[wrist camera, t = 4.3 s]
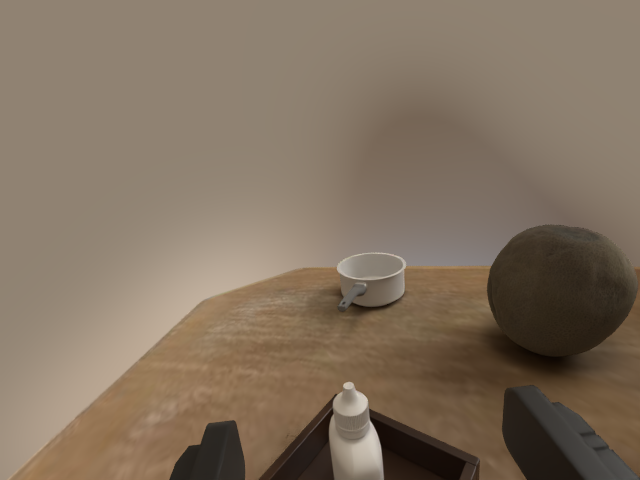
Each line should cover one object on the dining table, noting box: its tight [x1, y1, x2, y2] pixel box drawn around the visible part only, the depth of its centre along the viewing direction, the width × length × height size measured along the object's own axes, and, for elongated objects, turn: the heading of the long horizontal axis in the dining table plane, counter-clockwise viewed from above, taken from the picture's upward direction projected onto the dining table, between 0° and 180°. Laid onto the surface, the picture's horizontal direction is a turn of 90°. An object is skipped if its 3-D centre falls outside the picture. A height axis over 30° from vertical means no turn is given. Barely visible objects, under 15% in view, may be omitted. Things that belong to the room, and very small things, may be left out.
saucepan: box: [337, 253, 406, 312], centre depth 57 cm, size 12×20×6 cm, turn 156°
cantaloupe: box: [487, 225, 638, 357], centre depth 42 cm, size 14×14×15 cm
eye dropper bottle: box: [329, 382, 384, 480], centre depth 26 cm, size 4×6×12 cm
